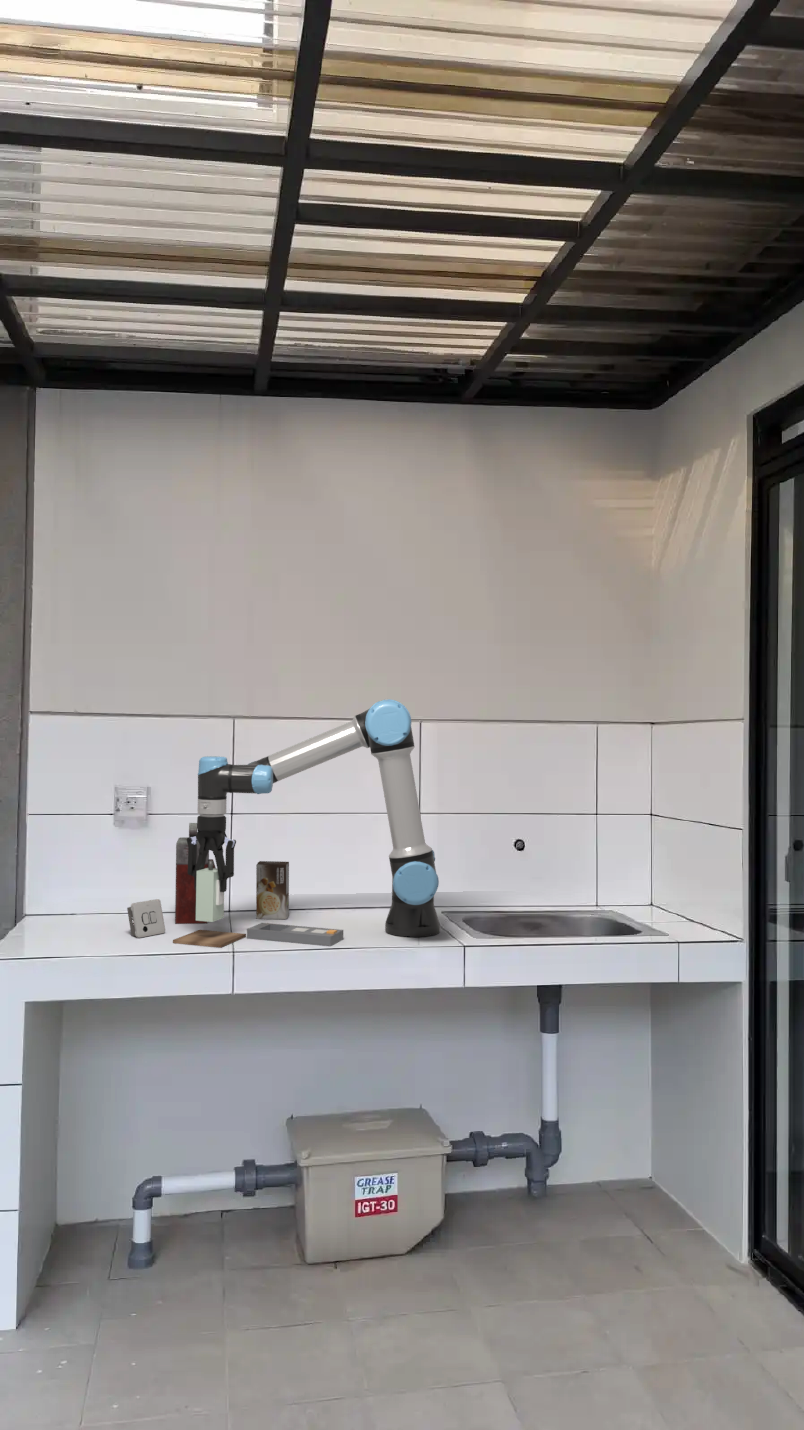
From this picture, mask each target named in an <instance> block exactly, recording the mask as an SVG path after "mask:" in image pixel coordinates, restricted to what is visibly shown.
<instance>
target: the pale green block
mask: <svg viewBox="0 0 804 1430" xmlns="http://www.w3.org/2000/svg"><path fill="white" fill-rule="evenodd" d="M213 861H214V860H213ZM213 861H209V865H208V868H205V869H202V870H198V871H197V878H196V921H206V922H207V923H208V922H209V923H214V922H217V921H219V920H222V919H224V918H225V917H224V915H225V901H224V902H223V904H221V905H216V884H217V880H218V879H219V874H218V870H217V867H216V868H213Z"/></svg>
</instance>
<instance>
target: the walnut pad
mask: <svg viewBox="0 0 804 1430" xmlns="http://www.w3.org/2000/svg"><path fill="white" fill-rule="evenodd" d="M244 938H247V933H239V932H230V931H229V932H228V931H217V930H207V929H198V930H195V931H193V932H189V933H188V934H185V935H182V936H180V937H177V938H174V939H172V943H173V944H180V945H189V946H197V947H198V946H200V947H207V948H208V947H210V948H222V949H223V948H224V947H225V946H226V947H227V946H228V945H230V944H233V943H235V942H238V941H240V940H242V939H244Z"/></svg>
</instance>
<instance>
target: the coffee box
mask: <svg viewBox="0 0 804 1430" xmlns="http://www.w3.org/2000/svg"><path fill="white" fill-rule="evenodd" d="M255 870H256V871H255V873H256V877H255V878H256V883H255V886H256V888H255V890H256V891H255V892H256V893H255V895H256V896H255V900H256V907H255V908H256V909H255V910H256V913H255V914H256V915H255V916H256V917H255V918H256V920H287V919H288V918H289V916H290V887H289V886H290V861H278V860H277V861H276V860H275V861H268V860H267V861H265V860H259V861H258V862H257V864H256V867H255Z"/></svg>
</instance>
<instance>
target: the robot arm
mask: <svg viewBox="0 0 804 1430" xmlns="http://www.w3.org/2000/svg"><path fill="white" fill-rule="evenodd" d="M360 748H366V749H370V755H371V756H372V757H374V758H375V759H377V761H378V767H379V772H380V773H379V774H380V779H381V785H382V789H383V795H384V796H383V797H384V802H385V808H386V813H387V819H388V825H389V831H390V832H389V833H390V837H391V843H392V850H391V852H390V853H389V855H388V859H389V864H390V865H389V866H390V871H391V877H392V879H391V882H392V883H391V905H390V908H389V911H388V914H387V917H386V920H385V924H384V925H385V926H384V928H385V929H384V930H385V931H384V932H385V933H387V934H390V935H393V936H397V937H398V936H400V937H407V936H410V938H411V937H413V938H415V937H416V938H419V937H421V938H422V937H430V936H434V935H437V934H439V933H440V928H441V926H440V925H441V924H440V921H439V920H440V919H439V917H438V914H437V910H436V907H435V895H436V893H437V891H438V888H439V886H440V885H439V884H440V881H439V875H438V874H437V869H436V865H435V862H436V857H435V851H434V850H433V848H432V847H431V846H429V845H428V844H427V843H426V839H425V834H424V828H423V827H424V826H423V821H422V816H421V811H420V804H419V799H418V793H417V786H416V782H415V777H414V776H415V775H414V768H413V765H412V758H411V757H412V756H411V753H412V751H413V750H414V748H415V742H414V735H413V730H412V716H411V713H410V712H409V710H408V709H407V707H406V706H405V705H404V704H403V703H401V701H397V700H395V699H383V700H378V701H376V702H375V703H373V705H372V706H371V707H370V708H368V709H367V710H365V711H362V712H360V713H359V714H358V713H357V714H356V715H354V716H353V718H352V720H351V721H349V722H346V723H344V724H341V725H339V726H337V727H333V728H332V729H329V730H327V731H325V732H323V733H320V734H317V735H316V736H313V737H311V738H309V739H306V740H304V741H301V742H298V743H295V744H294V745H291V746H289V747H287V748H284V749H281V750H279V751H277V752H275V753H272V754H270V755H267V756H265V757H262V758H261V759H258V760H254V761H252V762H249V763H248V764H231V763H230V764H229V762H228V758H227V757H225V756H219V755H218V756H212V755H211V756H208V755H207V756H202V757H200V758H199V761H198V770H197V771H198V772H197V814H198V816H197V819H196V823H197V834H196V836H195V837H190V838H187V843H188V875H192V876H193V877H194V889H195V890H196V878H197V871H198V870H202V869H204V866H205V862H206V858H207V854H208V852H209V853H210V851H212V853H213V856H214V859H215V864H216V865H215V866H216V868H217V870H218V874H219V879H218V880H217V884H216V905H221V904H223V902H224V903H225V892H227V889H228V888H227V887H228V886H227V884H228V883H227V882H228V879H230V878H233V877H234V876H235V847H236V844H237V840H236V839H231V838H229V837H228V836H227V834H226V832H227V831H226V830H227V817H226V814H227V794H228V793H229V794H235V793H236V794H256V795H260V794H262V795H263V794H270V793H271V792H272V791H273V786H274V784H276V783H277V782H279V781H282V780H284V779H287V778H289V777H292V776H294V775H296V774H299V773H301V772H304V771H306V770H308V769H311V768H314V767H316V766H318V765H319V766H320V765H321V764H323V763H326V762H328V761H330V760H332V759H335V758H338V757H341V756H342V755H346V754H347V753H351V752H352V751H354V750H358V749H360ZM197 842H199V844H200V849H199V856H198V860H197ZM223 845H225V857H224V847H223ZM196 861H197V864H196Z"/></svg>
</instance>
